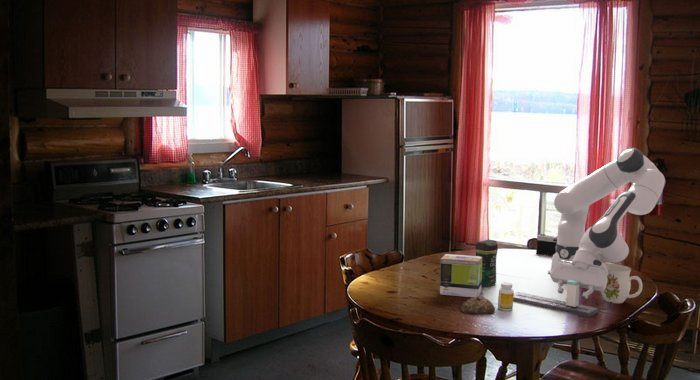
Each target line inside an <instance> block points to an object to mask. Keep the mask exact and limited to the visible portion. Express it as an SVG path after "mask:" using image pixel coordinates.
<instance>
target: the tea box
mask: <svg viewBox="0 0 700 380" xmlns="http://www.w3.org/2000/svg"><path fill="white" fill-rule="evenodd" d="M439 269H440V273H439V274H440V275H439V276H440V277H439V295H444V296H452V297H453V296H454V297H455V296H456V297H464V298H476V297H478V296H479V297H480V295H481V293H482V287H483V286H482V257H481V256H476V255H468V254H467V255H466V254H452V253H451V254H450V253H445V254H444V255H443V256H442V257H441V258H440V268H439Z"/></svg>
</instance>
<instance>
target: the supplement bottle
mask: <svg viewBox="0 0 700 380" xmlns="http://www.w3.org/2000/svg"><path fill="white" fill-rule="evenodd" d="M514 293H515V292H514V289H513V283H511V282H508V281H507V282H506V281H503V282H501V283H500V288H499V289H498V297H497V309H498V310H500V311H504V312H505V311H506V312H509V311H512V310H513V308H514V301H513V296H514Z"/></svg>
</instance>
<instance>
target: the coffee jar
mask: <svg viewBox="0 0 700 380" xmlns="http://www.w3.org/2000/svg"><path fill="white" fill-rule="evenodd" d="M498 246H499V244H498V242H497V240H493V239H485V240H481V241H477V242H475V247H474V252H475V256H481V257H482V286H481V287H491V286H493V285H496V284H497V257H498V256H497V255H498V249H499V247H498Z"/></svg>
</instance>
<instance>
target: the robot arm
mask: <svg viewBox="0 0 700 380" xmlns="http://www.w3.org/2000/svg"><path fill="white" fill-rule="evenodd" d="M628 183H631V186H630V187H629V188H628V190H626V191H624V192H622V193H621V194H619V195H618V196H617V197H616V198H615V199H614V200H613V202H612V203H611V205H610V206H609V207H608V208H607V209H606V211H605V212H604V213H603V214H602V216H601V217H600V218H598V220H596V222H594V223H593V224H592V225H591V226H589V228H587V230H585V229H586V223H587V219H588V214H589V208H590V206H591V205H592V204H594V203H596V202H597V201H600V200H601V199H603V198H605V197H607V196H608V195H610V194H611V193H614V192H615V191H616V190H619V189H620V188H621V187H623V186H625V185H627V184H628ZM666 183H667V182H666V179H665V176H664V174H663V173H662V172H661V171H660V170H659V169H658V168H657V166H656V165H655V163H653V162H652V161H651V160H650V159H649V158H648V157H647V156H646V155H644V153H643V152H642V151H641V150H640V149H638V148H636V147H629V148H626V149H623V151H621V152H620V153H619V155H618V156H617V158H616V159H614V160H612V161H611V162H608V163H606V164H605V165H603V166H601V167H600V168H598V169H597V170H595V171H593V172H592V173H590V174H589V175H586V176H584V178H583V177H582V178H581V179H580V180H578V181H576V182H574V183H572V184H571V185H569V186H567V187H565V188H564V189H562V190H561V191H559V193H557V195H556V196H555V198H554V199H553V200H554V201H553V203H554V204H553V205H554V208H555V209H556V211H557V212H559V213H560V215H561V216H560V220H559V223H558V224H557V236H558V237H557V236H556V237H557V243H556V253H555V254H554V255H553V256H551V257H552V259H551V266H550V269H549V270H547V274H549V275H550V278H551V281H552V282H554V283H557V284H558V288H557V294H560V295H561V294H562V295H563V293H564V291H565V290H564V285H566V286H567V281H569V280H576V281H580V285H579V288H583V289H587V290H586V291H582V292H583V293H582V295H581V296H582V298H583V299H588V298H589V296H590V295H591V294H592V293H594V291H598V292H601V291H603V290H605V288H606V285H607V281H608V278H607V275H608V273H609V272H608V269H607V266H606V264H620V263H622V262H623V261H625V260H626V258H628V256H629V254H630V247H629V246H628V244H627V243H626V241H625V239H624V238H623V236H622V235H621V233H620V231H619V223H620V221H621V220H622V219H623V218H624V216H625V215H626V214H627V212H628V213H630V214H633V215H637V216H643V215H646V214H649V213H651V212H653V209H655V207H656V205H657V203H658V201H659V200H660V197H661V195H662V193H663V191H664V188H665V186H666ZM605 263H606V264H605Z"/></svg>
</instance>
